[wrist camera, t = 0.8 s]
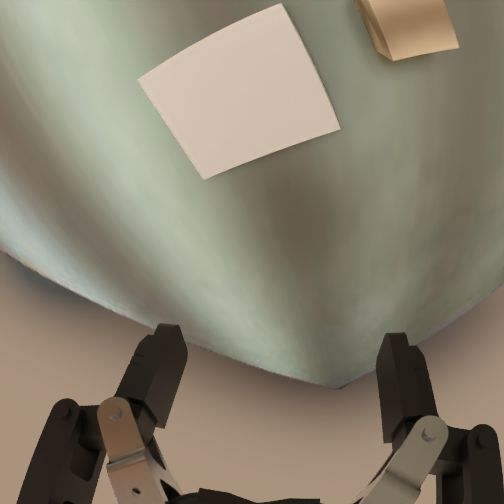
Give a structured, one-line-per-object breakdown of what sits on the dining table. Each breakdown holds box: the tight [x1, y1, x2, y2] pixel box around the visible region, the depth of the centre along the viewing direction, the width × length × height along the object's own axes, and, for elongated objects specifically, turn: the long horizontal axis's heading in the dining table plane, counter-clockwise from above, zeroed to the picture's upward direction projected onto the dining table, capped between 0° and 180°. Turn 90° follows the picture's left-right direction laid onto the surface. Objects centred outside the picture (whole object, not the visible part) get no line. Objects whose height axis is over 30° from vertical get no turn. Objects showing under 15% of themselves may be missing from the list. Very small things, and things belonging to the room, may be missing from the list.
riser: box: [137, 3, 340, 180], centre depth 25 cm, size 12×14×4 cm
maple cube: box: [354, 0, 459, 61], centre depth 17 cm, size 6×6×6 cm
